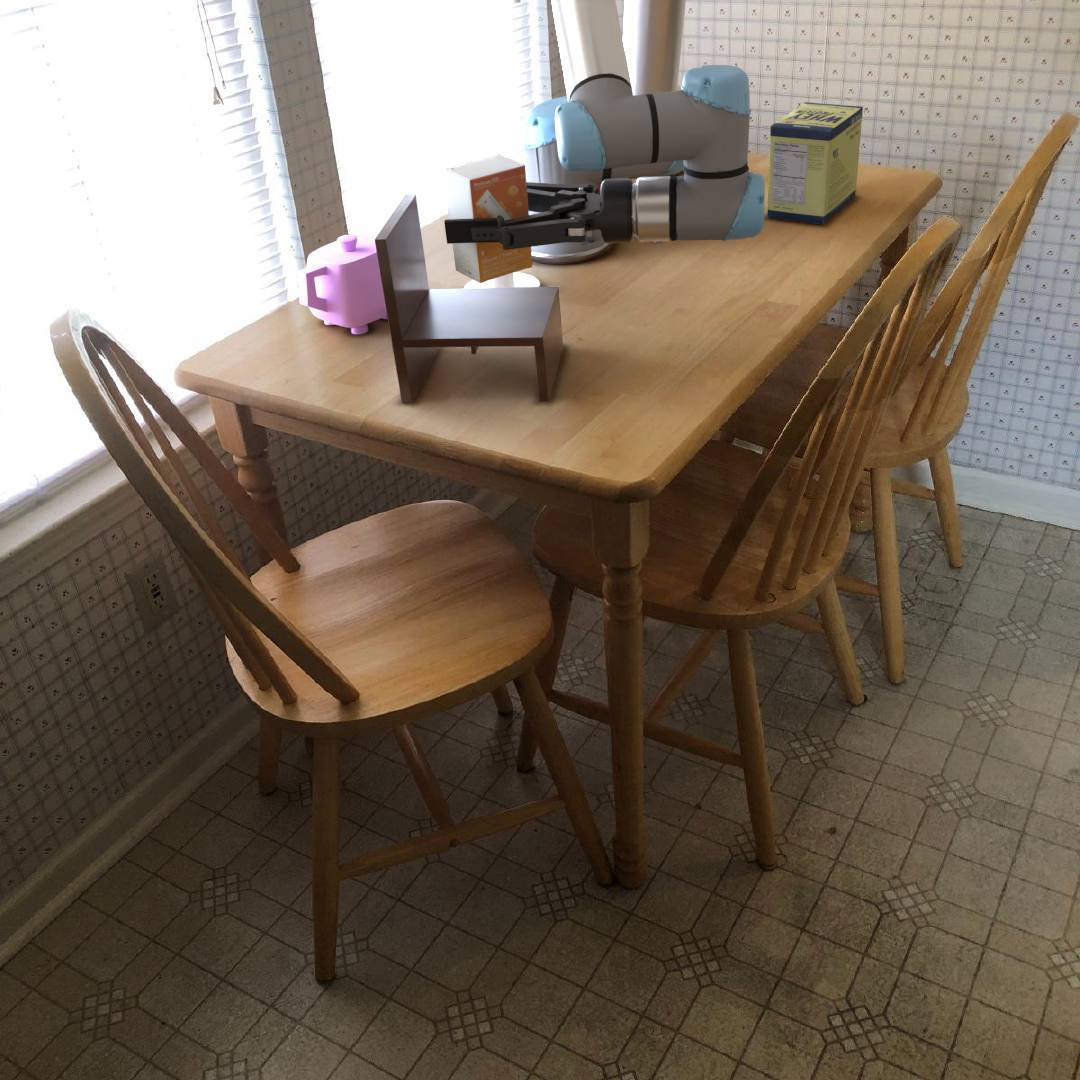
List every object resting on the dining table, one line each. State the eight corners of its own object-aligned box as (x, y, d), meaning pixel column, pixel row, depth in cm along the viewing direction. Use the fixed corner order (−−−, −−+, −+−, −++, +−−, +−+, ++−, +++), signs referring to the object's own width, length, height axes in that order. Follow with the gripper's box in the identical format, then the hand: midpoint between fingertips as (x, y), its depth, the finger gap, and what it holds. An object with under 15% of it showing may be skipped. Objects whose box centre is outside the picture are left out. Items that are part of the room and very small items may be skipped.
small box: (480, 285, 138) (468, 179, 131) (454, 271, 143) (441, 168, 135) (534, 267, 142) (526, 163, 134) (507, 254, 146) (498, 153, 139)
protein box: (856, 197, 197) (864, 105, 188) (824, 226, 186) (831, 130, 177) (799, 190, 202) (805, 100, 193) (765, 218, 191) (769, 125, 182)
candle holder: (483, 274, 181) (480, 248, 178) (552, 279, 176) (550, 253, 174) (450, 303, 172) (447, 276, 169) (522, 310, 168) (519, 283, 165)
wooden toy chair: (428, 348, 159) (405, 195, 147) (563, 347, 156) (551, 190, 144) (401, 402, 146) (374, 239, 134) (548, 402, 143) (534, 235, 131)
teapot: (339, 352, 161) (322, 267, 153) (285, 332, 168) (267, 250, 160) (438, 303, 172) (427, 222, 165) (384, 287, 179) (371, 209, 172)
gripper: (629, 275, 129) (440, 280, 132) (640, 209, 147) (473, 215, 150) (627, 211, 124) (432, 218, 128) (638, 151, 142) (466, 158, 146)
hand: (454, 216), depth 139 cm, fingers closed on small box, 10 cm apart
